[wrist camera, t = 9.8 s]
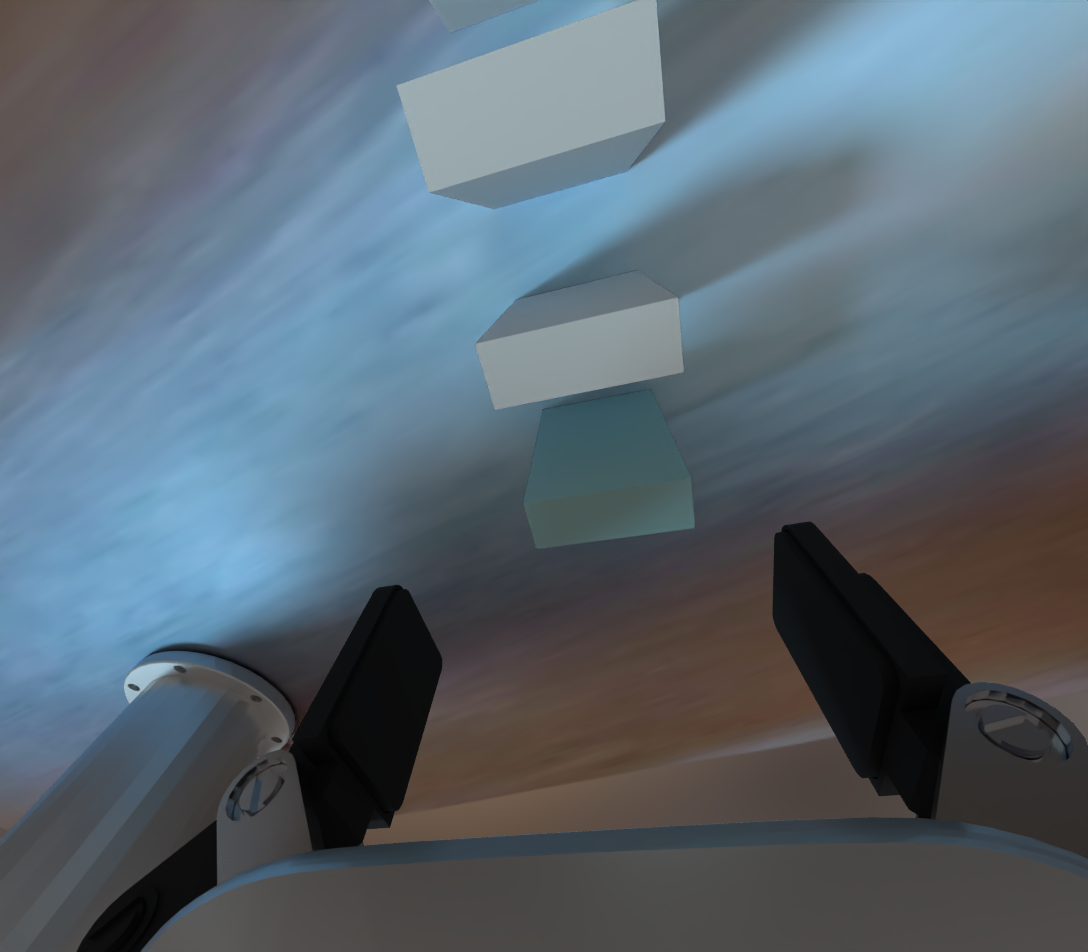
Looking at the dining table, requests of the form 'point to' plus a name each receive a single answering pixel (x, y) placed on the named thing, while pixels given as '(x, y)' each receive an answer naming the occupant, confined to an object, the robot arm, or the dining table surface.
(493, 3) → the domino
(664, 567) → the dining table surface
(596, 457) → the domino
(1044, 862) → the robot arm
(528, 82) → the domino
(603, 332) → the domino
